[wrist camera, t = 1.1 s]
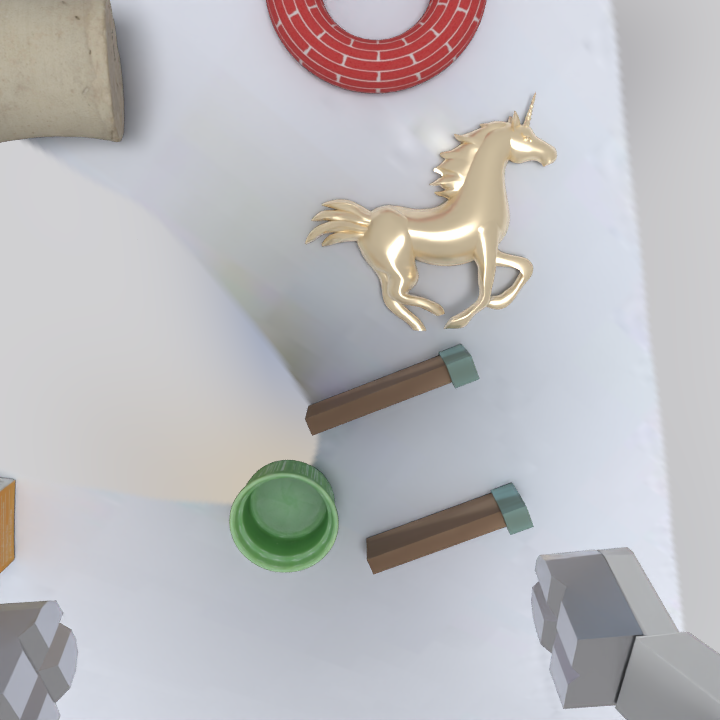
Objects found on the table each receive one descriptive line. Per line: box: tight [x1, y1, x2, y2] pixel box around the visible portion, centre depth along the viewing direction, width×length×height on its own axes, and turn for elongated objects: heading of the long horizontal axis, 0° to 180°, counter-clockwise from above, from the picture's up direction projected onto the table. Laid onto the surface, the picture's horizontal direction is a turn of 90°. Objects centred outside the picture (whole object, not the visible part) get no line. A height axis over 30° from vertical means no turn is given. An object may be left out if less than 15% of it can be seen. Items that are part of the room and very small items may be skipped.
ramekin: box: [229, 460, 338, 572], centre depth 52 cm, size 9×9×4 cm
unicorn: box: [305, 92, 557, 331], centre depth 47 cm, size 20×4×17 cm
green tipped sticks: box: [305, 344, 534, 574], centre depth 51 cm, size 16×14×4 cm
